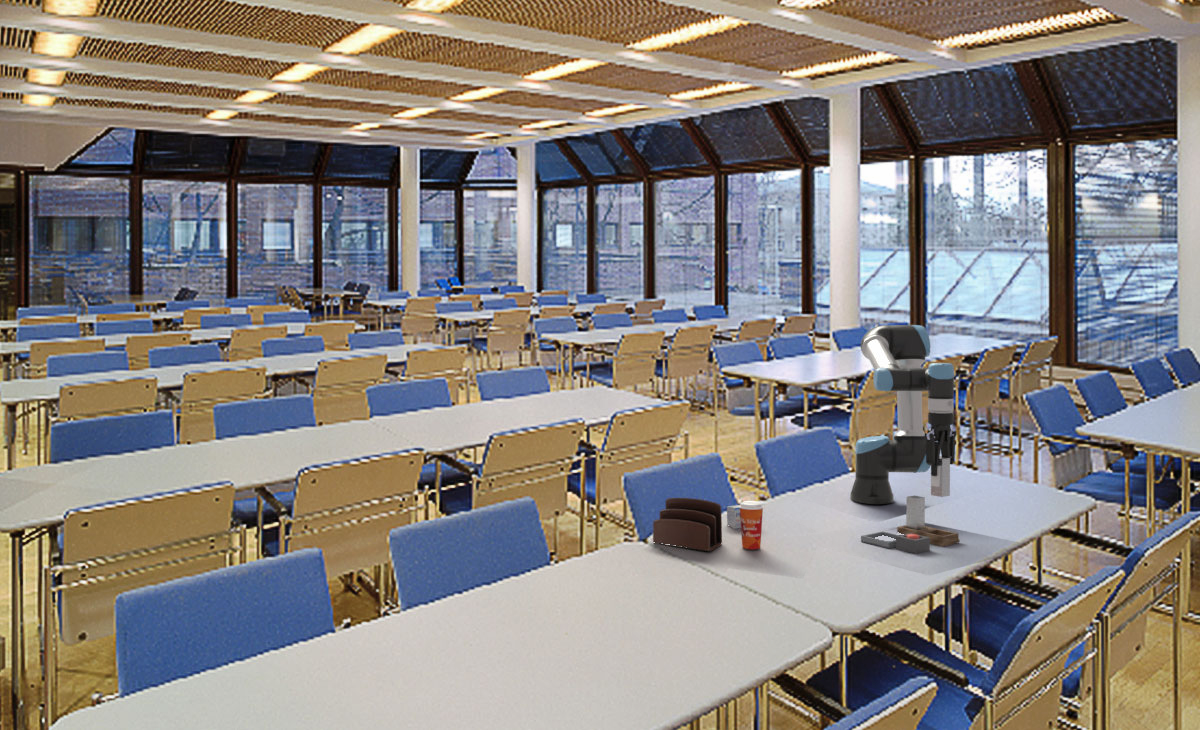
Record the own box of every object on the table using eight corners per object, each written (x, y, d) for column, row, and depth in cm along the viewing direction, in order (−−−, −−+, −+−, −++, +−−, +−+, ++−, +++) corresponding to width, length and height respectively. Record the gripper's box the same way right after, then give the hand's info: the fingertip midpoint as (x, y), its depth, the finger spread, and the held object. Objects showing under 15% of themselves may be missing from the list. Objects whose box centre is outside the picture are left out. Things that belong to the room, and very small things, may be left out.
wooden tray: (896, 536, 282) (896, 527, 282) (913, 532, 287) (913, 523, 287) (942, 546, 268) (942, 537, 268) (959, 542, 273) (959, 533, 273)
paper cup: (736, 549, 267) (736, 504, 266) (741, 543, 274) (741, 499, 273) (761, 551, 264) (761, 506, 263) (766, 545, 271) (766, 501, 271)
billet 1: (906, 533, 282) (906, 496, 281) (913, 531, 284) (914, 495, 283) (916, 535, 278) (917, 498, 278) (924, 533, 280) (924, 497, 280)
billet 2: (930, 495, 273) (931, 457, 273) (938, 493, 276) (938, 456, 275) (942, 497, 270) (942, 459, 270) (949, 495, 272) (950, 457, 272)
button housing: (895, 549, 265) (896, 536, 265) (910, 545, 269) (910, 533, 269) (915, 553, 260) (915, 540, 259) (929, 550, 263) (929, 537, 263)
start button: (904, 539, 265) (904, 535, 265) (911, 538, 267) (911, 533, 267) (914, 542, 262) (914, 537, 262) (921, 540, 264) (921, 535, 264)
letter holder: (666, 537, 283) (666, 495, 282) (722, 545, 273) (722, 501, 272) (652, 544, 275) (652, 500, 274) (709, 552, 264) (709, 506, 264)
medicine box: (734, 533, 287) (734, 508, 286) (726, 531, 291) (726, 505, 290) (753, 531, 290) (753, 505, 290) (745, 528, 294) (745, 503, 294)
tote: (860, 541, 275) (860, 535, 275) (882, 537, 281) (882, 531, 281) (888, 548, 266) (888, 542, 266) (910, 543, 272) (910, 537, 272)
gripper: (934, 414, 264) (934, 489, 265) (967, 411, 273) (967, 484, 274) (913, 412, 270) (913, 486, 271) (946, 409, 280) (946, 481, 281)
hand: (940, 485), depth 273 cm, fingers closed on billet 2, 4 cm apart
